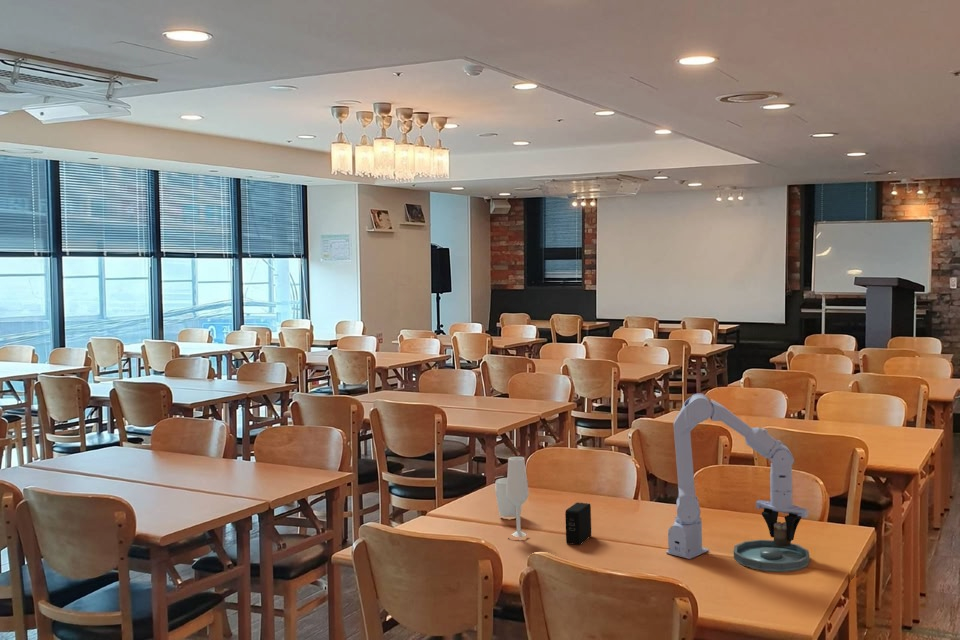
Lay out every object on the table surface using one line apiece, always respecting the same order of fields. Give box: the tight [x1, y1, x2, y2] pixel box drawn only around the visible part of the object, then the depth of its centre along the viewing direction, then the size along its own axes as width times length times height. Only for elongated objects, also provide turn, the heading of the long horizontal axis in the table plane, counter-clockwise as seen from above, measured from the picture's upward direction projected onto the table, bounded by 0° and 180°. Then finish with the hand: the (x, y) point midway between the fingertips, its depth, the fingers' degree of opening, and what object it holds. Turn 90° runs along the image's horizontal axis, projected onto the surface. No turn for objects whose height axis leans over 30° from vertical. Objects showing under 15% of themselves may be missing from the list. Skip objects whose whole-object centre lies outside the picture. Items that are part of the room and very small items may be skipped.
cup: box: [494, 477, 523, 517], centre depth 291 cm, size 9×9×12 cm
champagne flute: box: [506, 456, 530, 537], centre depth 269 cm, size 7×7×24 cm
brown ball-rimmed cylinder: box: [773, 521, 792, 547], centre depth 247 cm, size 4×4×6 cm
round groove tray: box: [733, 539, 810, 573], centre depth 243 cm, size 19×19×2 cm
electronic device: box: [564, 502, 592, 546], centre depth 265 cm, size 4×10×10 cm, turn 152°
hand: (782, 538), depth 247 cm, fingers closed on brown ball-rimmed cylinder, 4 cm apart
